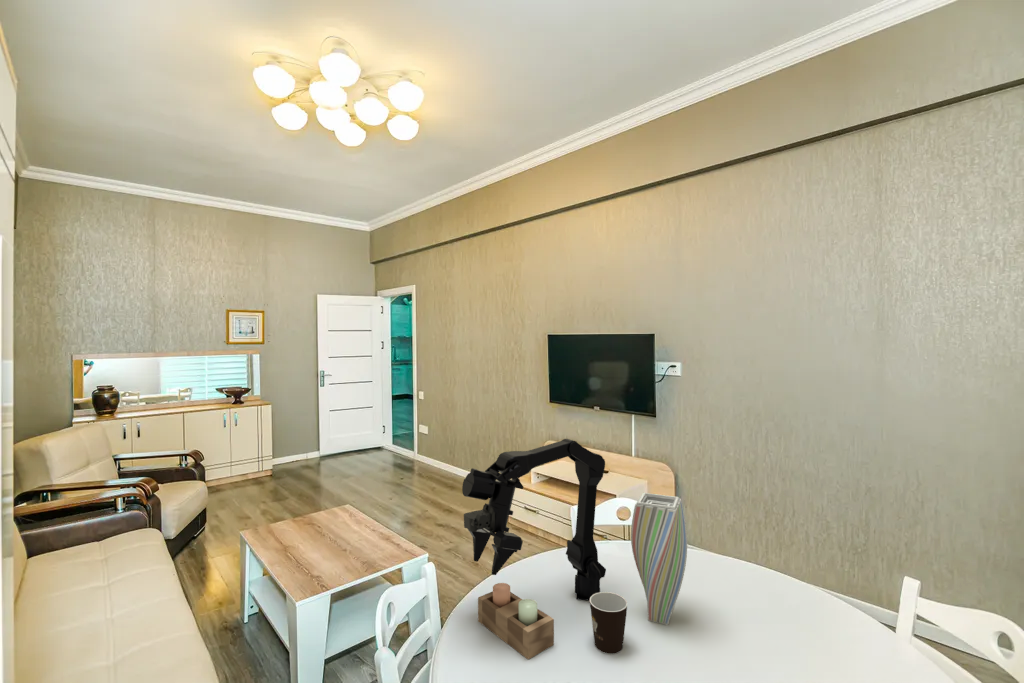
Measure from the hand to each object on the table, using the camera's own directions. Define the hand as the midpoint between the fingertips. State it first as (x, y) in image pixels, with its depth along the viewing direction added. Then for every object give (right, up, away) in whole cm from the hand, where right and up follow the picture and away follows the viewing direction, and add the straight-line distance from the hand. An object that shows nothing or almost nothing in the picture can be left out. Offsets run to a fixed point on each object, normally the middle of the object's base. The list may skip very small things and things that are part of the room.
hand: (484, 567), depth 115 cm
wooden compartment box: (+7, -15, -2) cm, 17 cm away
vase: (+44, -15, +5) cm, 47 cm away
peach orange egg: (+4, -11, +2) cm, 12 cm away
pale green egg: (+11, -11, -5) cm, 16 cm away
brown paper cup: (+30, -15, -5) cm, 34 cm away
